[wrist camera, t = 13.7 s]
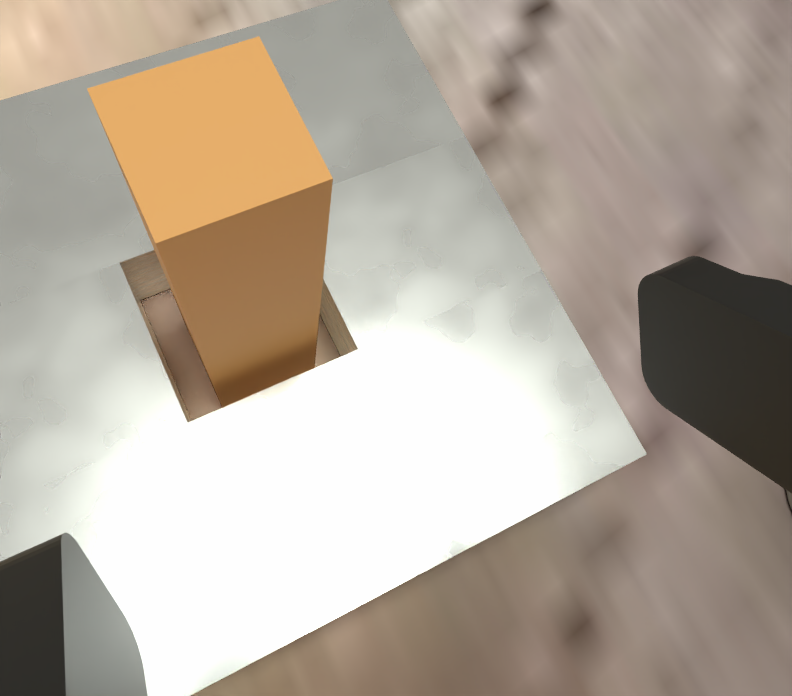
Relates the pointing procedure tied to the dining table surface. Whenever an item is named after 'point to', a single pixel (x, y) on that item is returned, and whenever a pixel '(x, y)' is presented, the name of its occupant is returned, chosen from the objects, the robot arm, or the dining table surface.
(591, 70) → the dining table surface
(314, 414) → the collar plate
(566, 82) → the dining table surface
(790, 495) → the thermos bottle
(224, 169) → the square peg
